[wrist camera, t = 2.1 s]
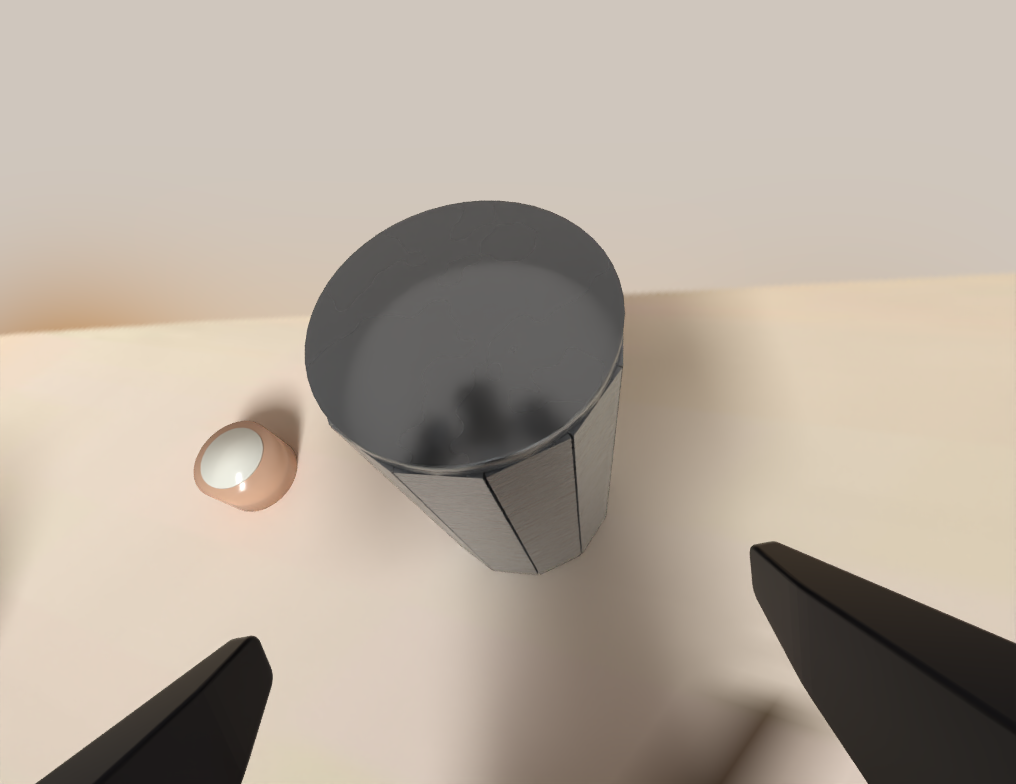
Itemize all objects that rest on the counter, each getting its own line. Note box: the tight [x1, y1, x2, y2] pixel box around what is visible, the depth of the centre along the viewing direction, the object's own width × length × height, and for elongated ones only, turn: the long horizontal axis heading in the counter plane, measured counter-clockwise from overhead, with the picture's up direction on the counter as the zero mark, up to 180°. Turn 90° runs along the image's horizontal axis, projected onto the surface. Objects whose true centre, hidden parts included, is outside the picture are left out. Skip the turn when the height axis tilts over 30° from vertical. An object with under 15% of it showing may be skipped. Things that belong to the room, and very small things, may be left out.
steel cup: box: [305, 201, 625, 575], centre depth 17 cm, size 7×7×13 cm
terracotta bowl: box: [194, 421, 297, 512], centre depth 24 cm, size 4×4×2 cm
